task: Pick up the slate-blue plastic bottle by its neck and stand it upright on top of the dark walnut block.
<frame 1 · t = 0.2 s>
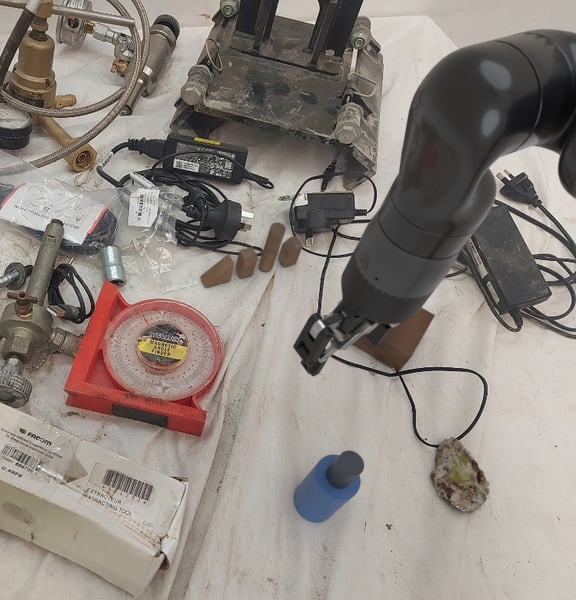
hand: (340, 353, 63), 26 cm above the table, tool pointing down, fingers open, 8 cm apart
mineral rock: (455, 476, 83), on the table
wood blocks: (229, 276, 101), on the table
bottle: (313, 501, 80), on the table
walnut block: (382, 334, 96), on the table
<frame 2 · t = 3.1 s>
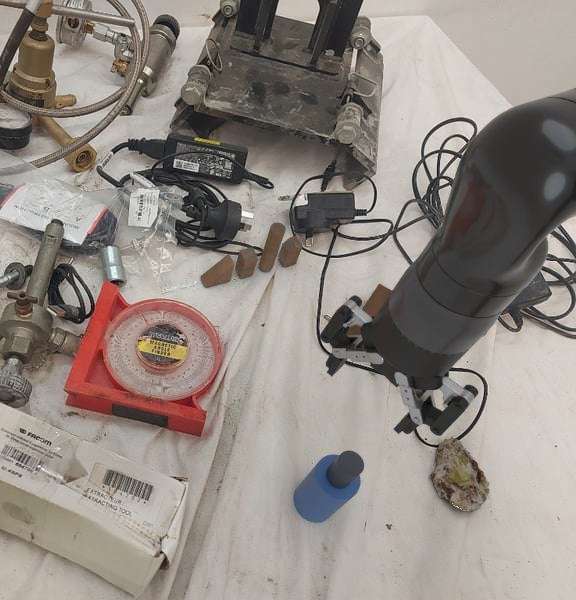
hand: (366, 397, 60), 26 cm above the table, tool pointing down, fingers open, 8 cm apart
nothing on the table moved.
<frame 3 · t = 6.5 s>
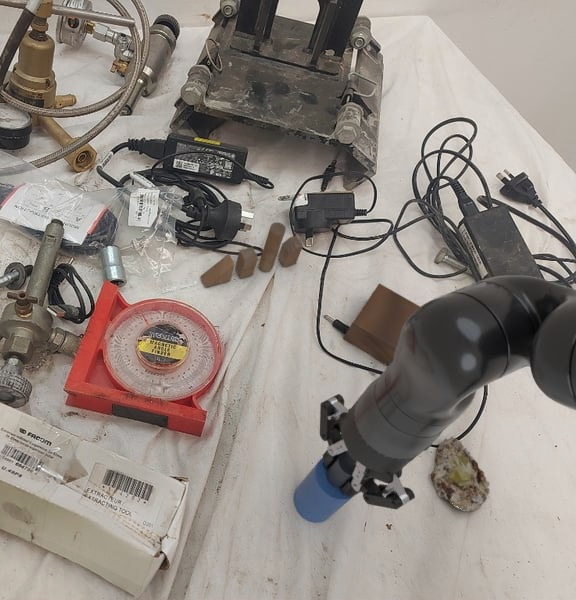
hand: (339, 475, 70), 11 cm above the table, tool pointing down, fingers closed on bottle, 3 cm apart
bottle: (313, 501, 80), on the table, touching gripper
everything else where it was.
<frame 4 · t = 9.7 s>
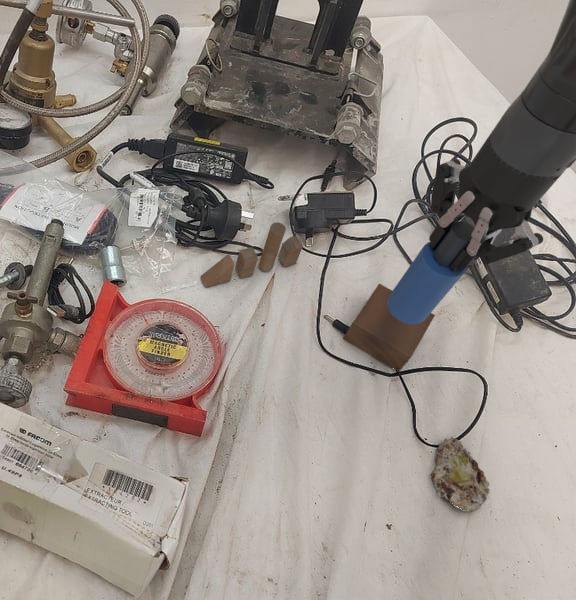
hand: (446, 256, 70), 28 cm above the table, tool pointing down, fingers closed on bottle, 3 cm apart
bottle: (407, 307, 79), point 17 cm above the table, touching gripper
everything else where it was.
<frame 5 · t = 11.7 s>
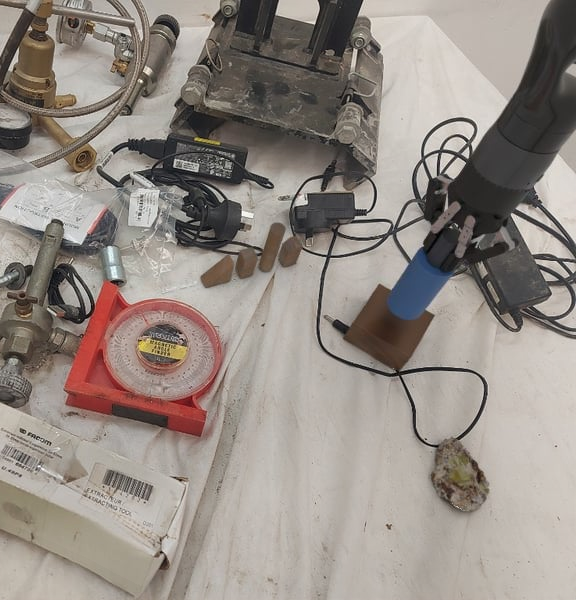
hand: (438, 258, 79), 20 cm above the table, tool pointing down, fingers closed on bottle, 3 cm apart
bottle: (404, 304, 89), point 9 cm above the table, touching gripper
everything else where it was.
when the fingers open (16 cm above the table, at t = 13.1 s): bottle stays where it is, resting on walnut block.
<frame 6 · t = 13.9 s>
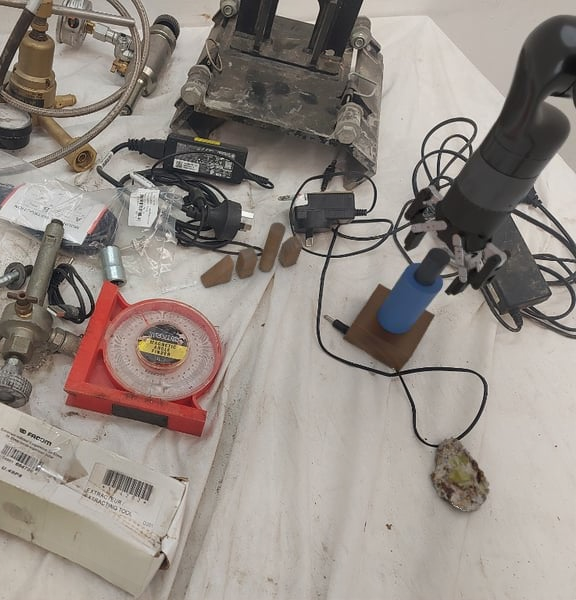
hand: (429, 269, 81), 18 cm above the table, tool pointing down, fingers open, 8 cm apart
bottle: (394, 319, 92), point 5 cm above the table, touching walnut block
everything else where it was.
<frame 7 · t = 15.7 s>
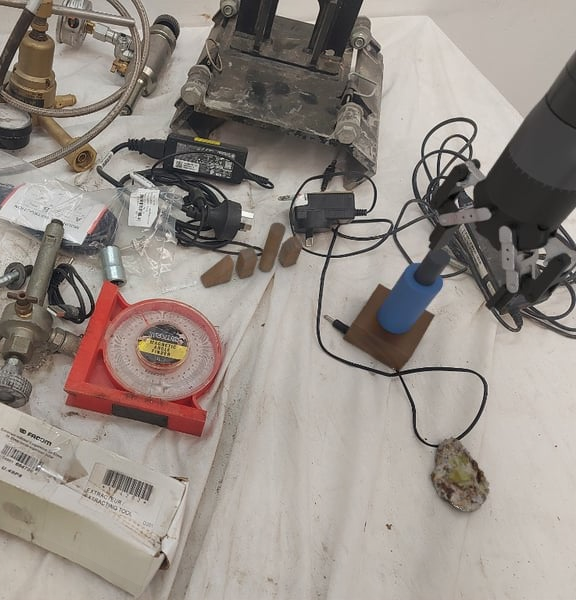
hand: (463, 275, 61), 33 cm above the table, tool pointing down, fingers open, 8 cm apart
nothing on the table moved.
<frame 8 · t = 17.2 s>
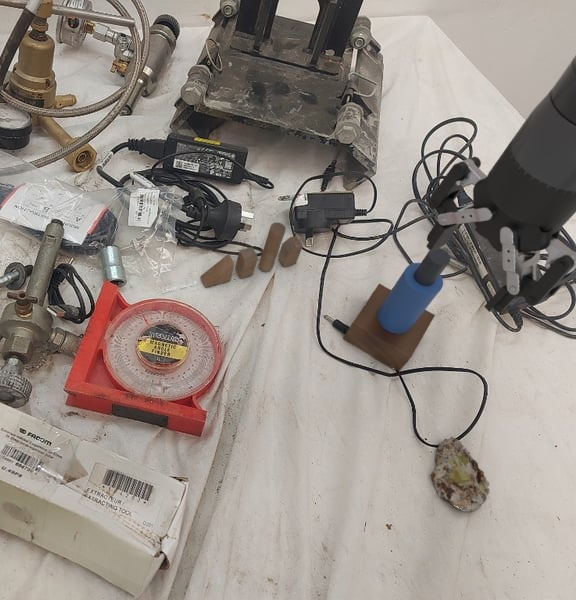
hand: (462, 276, 60), 34 cm above the table, tool pointing down, fingers open, 8 cm apart
nothing on the table moved.
at the end: bottle inside the target area on the walnut block (0.1 cm from its centre), point 5.0 cm above the walnut block's base; bottle tilted 0° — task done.
